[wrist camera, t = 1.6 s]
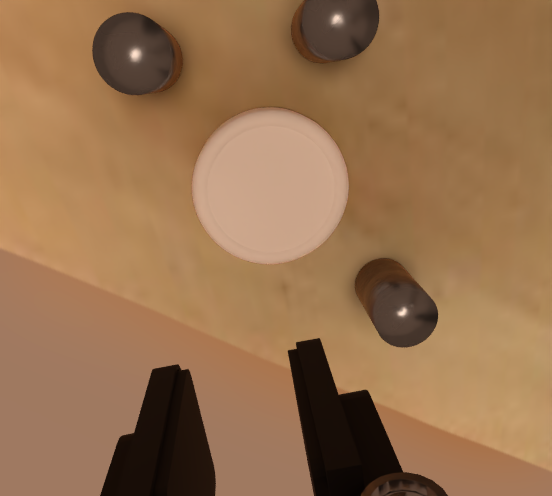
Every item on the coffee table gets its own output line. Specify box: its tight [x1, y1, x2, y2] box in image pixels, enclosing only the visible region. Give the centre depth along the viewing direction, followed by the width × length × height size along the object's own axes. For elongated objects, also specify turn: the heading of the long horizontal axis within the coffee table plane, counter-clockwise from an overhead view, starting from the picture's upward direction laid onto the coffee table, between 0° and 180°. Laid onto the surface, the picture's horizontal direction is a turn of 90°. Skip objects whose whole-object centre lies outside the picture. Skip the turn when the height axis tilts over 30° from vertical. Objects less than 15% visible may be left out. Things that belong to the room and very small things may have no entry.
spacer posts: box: [92, 0, 438, 347], centre depth 32 cm, size 17×22×6 cm
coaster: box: [192, 107, 349, 264], centre depth 34 cm, size 10×10×4 cm
